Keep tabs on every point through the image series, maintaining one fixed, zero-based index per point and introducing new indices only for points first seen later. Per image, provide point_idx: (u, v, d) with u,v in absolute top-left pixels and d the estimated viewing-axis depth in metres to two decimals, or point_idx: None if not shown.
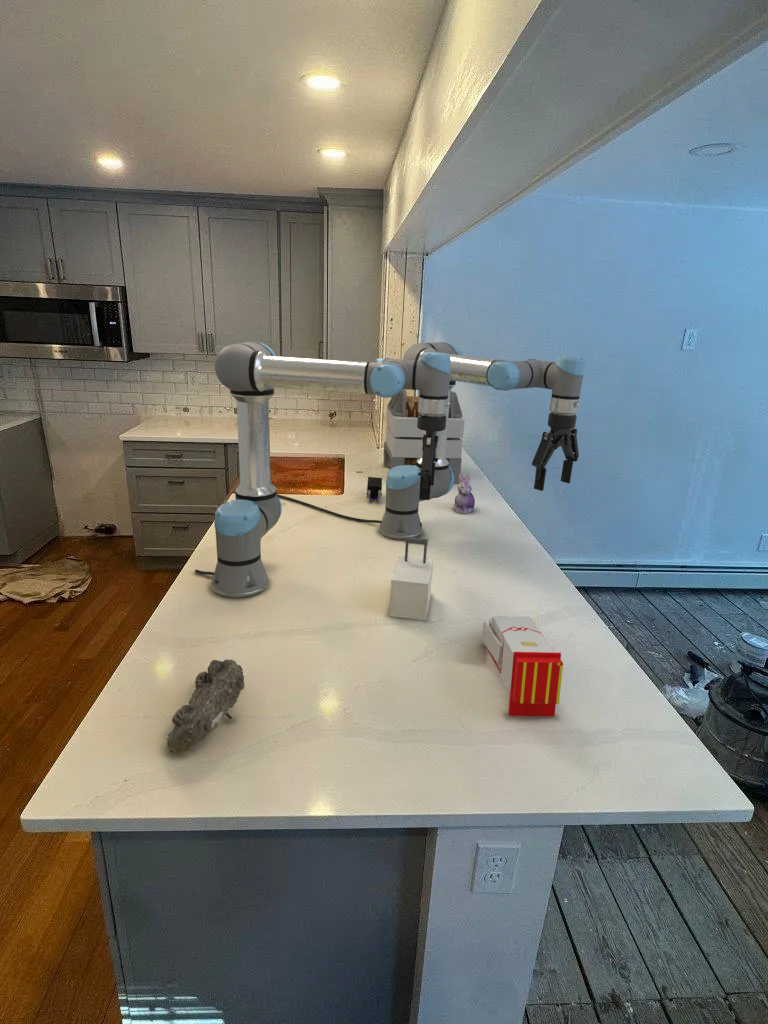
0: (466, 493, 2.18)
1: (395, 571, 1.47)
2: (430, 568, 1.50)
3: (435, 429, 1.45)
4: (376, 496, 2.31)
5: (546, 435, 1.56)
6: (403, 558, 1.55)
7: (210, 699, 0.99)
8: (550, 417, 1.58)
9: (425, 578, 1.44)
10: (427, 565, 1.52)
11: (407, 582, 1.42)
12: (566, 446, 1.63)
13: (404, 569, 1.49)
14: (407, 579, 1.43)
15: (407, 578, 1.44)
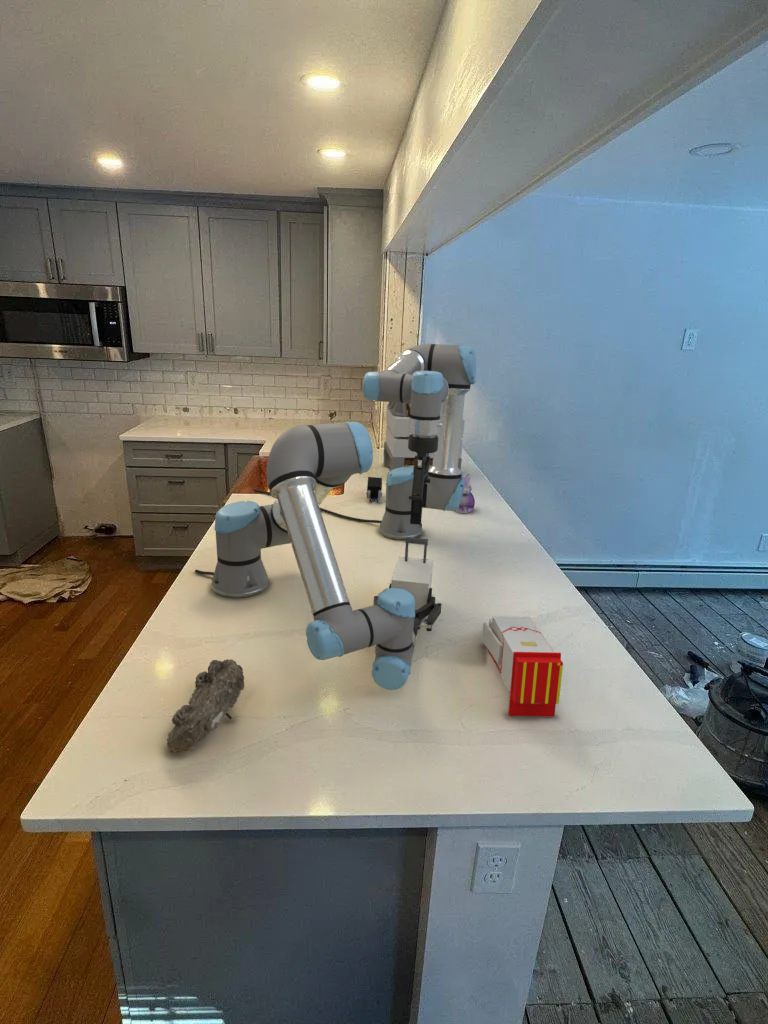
0: (466, 493, 2.18)
1: (395, 571, 1.47)
2: (430, 568, 1.50)
3: None
4: (376, 496, 2.31)
5: (420, 463, 1.37)
6: (403, 558, 1.55)
7: (210, 699, 0.99)
8: (415, 442, 1.39)
9: (426, 578, 1.44)
10: (427, 565, 1.52)
11: (407, 582, 1.42)
12: None
13: (404, 569, 1.49)
14: (407, 579, 1.43)
15: (407, 578, 1.44)
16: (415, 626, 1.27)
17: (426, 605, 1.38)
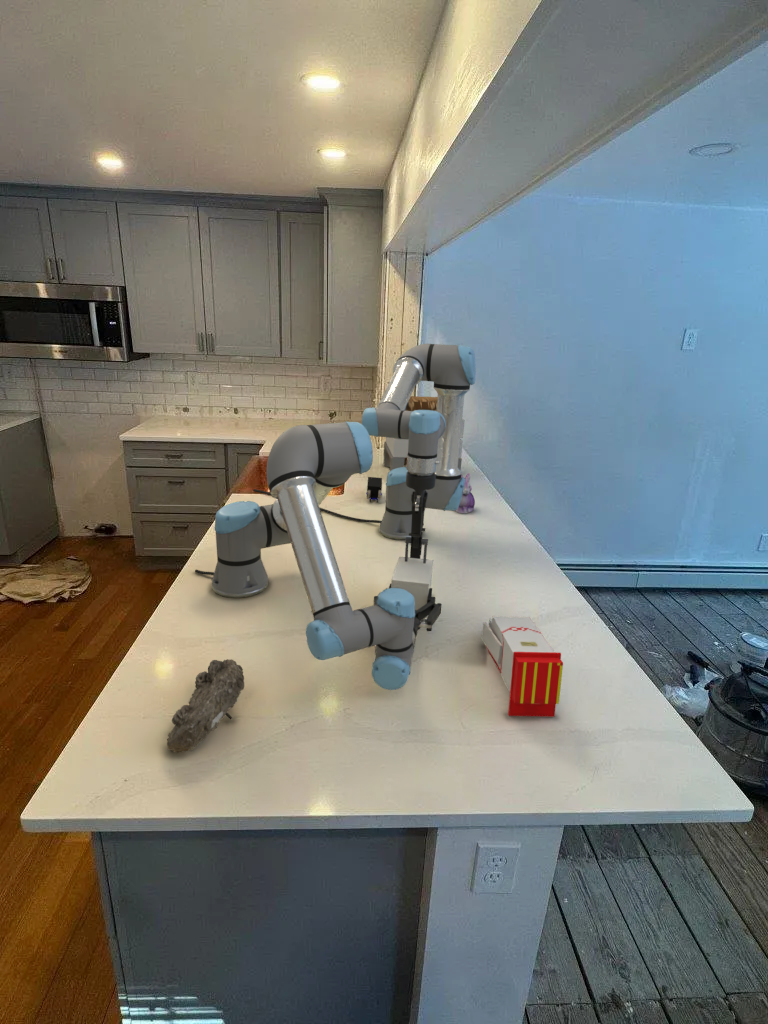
0: (466, 493, 2.18)
1: (395, 571, 1.47)
2: (430, 568, 1.50)
3: None
4: (376, 496, 2.31)
5: (417, 508, 1.42)
6: (403, 558, 1.55)
7: (210, 699, 0.99)
8: (412, 479, 1.42)
9: (426, 578, 1.44)
10: (427, 565, 1.52)
11: (407, 582, 1.42)
12: None
13: (404, 569, 1.48)
14: (407, 579, 1.43)
15: (407, 578, 1.44)
16: (415, 626, 1.27)
17: (426, 605, 1.38)
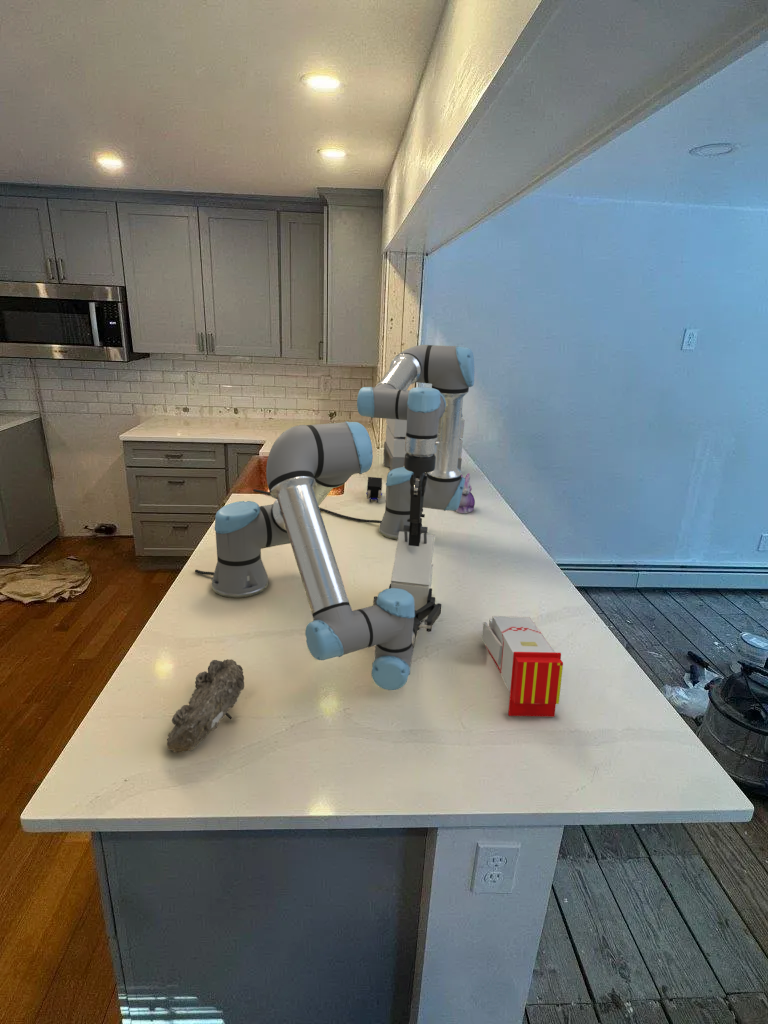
0: (466, 493, 2.18)
1: (395, 563, 1.45)
2: (431, 553, 1.46)
3: None
4: (376, 496, 2.31)
5: (416, 492, 1.33)
6: (403, 535, 1.50)
7: (210, 699, 0.99)
8: (411, 461, 1.34)
9: (426, 574, 1.43)
10: (428, 547, 1.47)
11: (407, 583, 1.42)
12: None
13: (404, 559, 1.46)
14: (407, 578, 1.43)
15: (407, 577, 1.43)
16: (415, 626, 1.27)
17: (426, 605, 1.37)
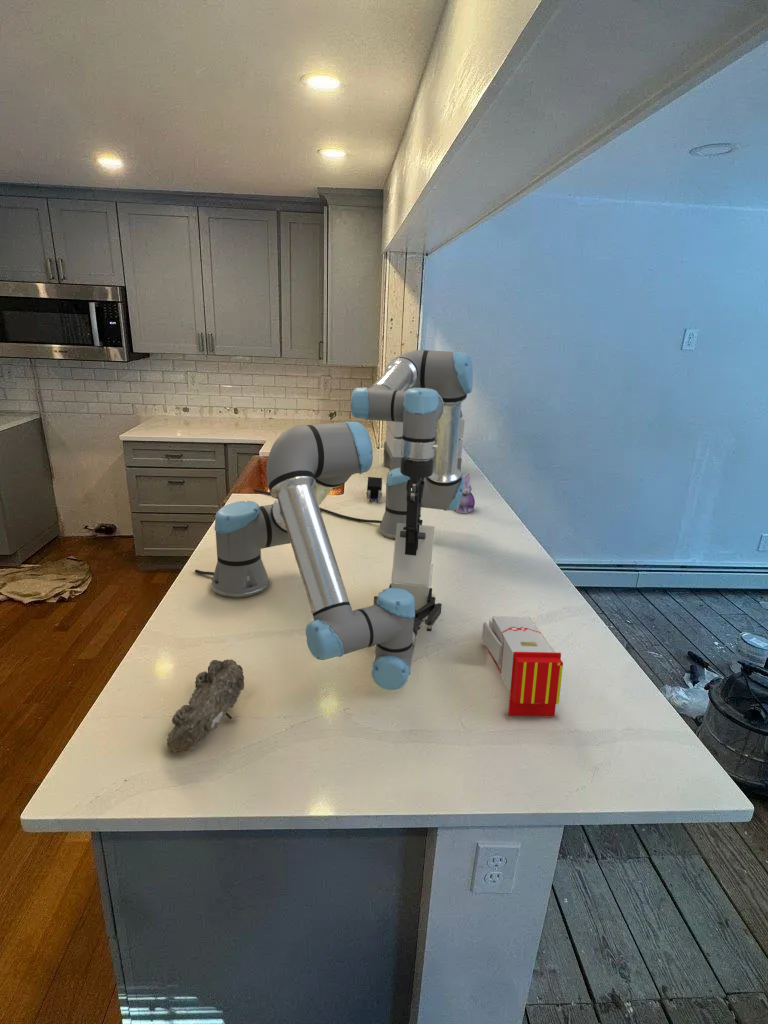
0: (466, 493, 2.18)
1: (394, 562, 1.43)
2: (431, 549, 1.42)
3: None
4: (376, 496, 2.31)
5: (412, 497, 1.26)
6: (401, 528, 1.43)
7: (210, 699, 0.99)
8: (408, 465, 1.27)
9: (426, 574, 1.41)
10: (427, 542, 1.42)
11: None
12: None
13: (403, 556, 1.42)
14: (407, 578, 1.42)
15: (407, 577, 1.42)
16: (415, 626, 1.27)
17: (426, 605, 1.37)
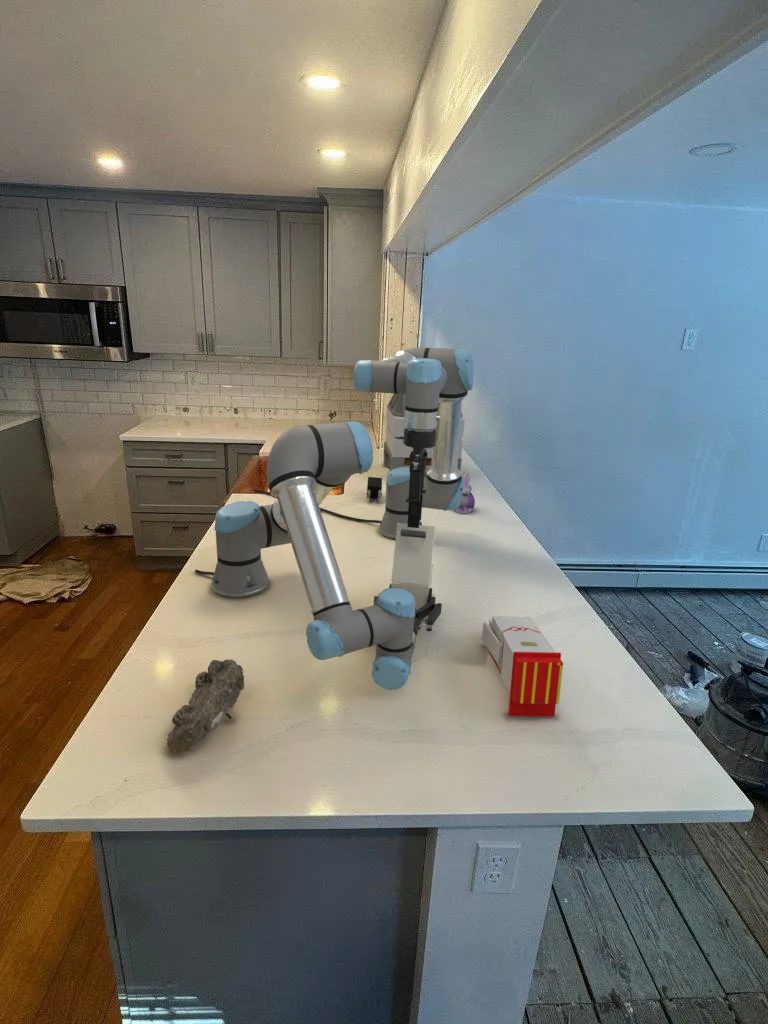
0: (466, 493, 2.18)
1: (394, 561, 1.43)
2: (431, 549, 1.42)
3: None
4: (376, 496, 2.31)
5: (415, 466, 1.26)
6: (402, 528, 1.44)
7: (210, 699, 0.99)
8: (411, 436, 1.28)
9: (426, 573, 1.42)
10: (428, 542, 1.42)
11: None
12: None
13: (403, 556, 1.43)
14: (407, 578, 1.42)
15: (407, 576, 1.42)
16: (415, 626, 1.27)
17: (426, 605, 1.38)
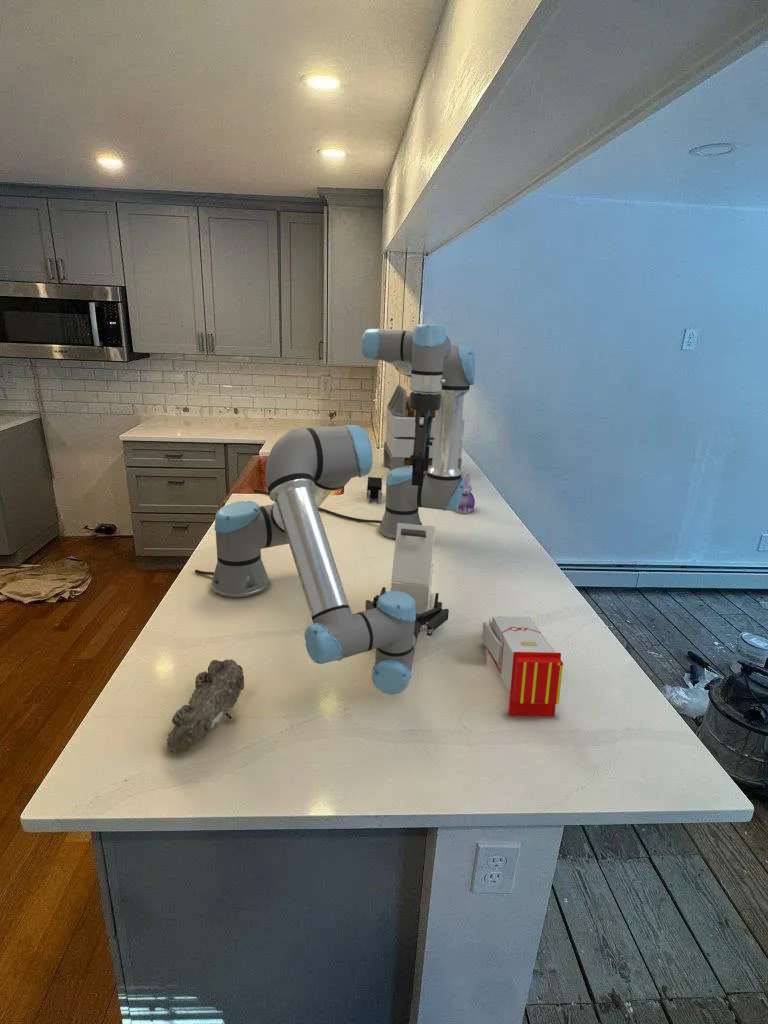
0: (466, 493, 2.18)
1: (394, 561, 1.43)
2: (431, 549, 1.42)
3: None
4: (376, 496, 2.31)
5: (421, 420, 1.31)
6: (402, 528, 1.44)
7: (210, 699, 0.99)
8: (416, 398, 1.33)
9: (426, 573, 1.42)
10: (428, 542, 1.43)
11: (407, 582, 1.42)
12: None
13: (403, 556, 1.43)
14: (407, 577, 1.42)
15: (407, 576, 1.42)
16: (415, 629, 1.26)
17: (431, 610, 1.35)
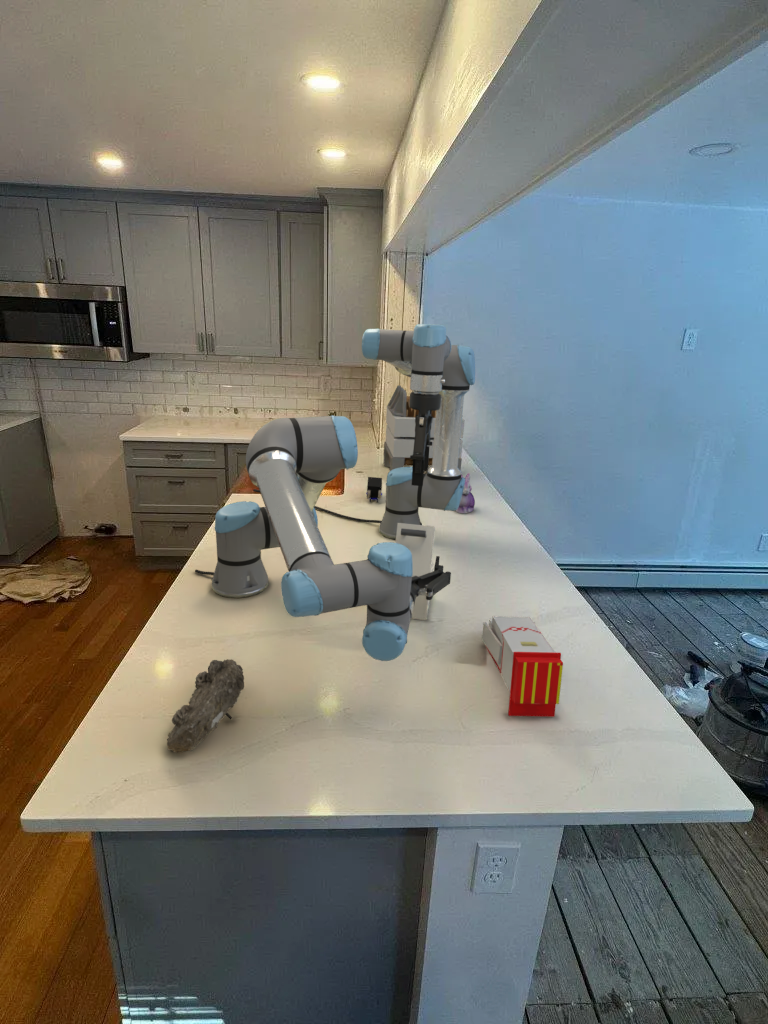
0: (466, 493, 2.18)
1: None
2: (431, 549, 1.42)
3: None
4: (376, 496, 2.31)
5: (421, 420, 1.31)
6: (402, 528, 1.44)
7: (210, 699, 0.99)
8: (416, 398, 1.33)
9: (426, 573, 1.42)
10: (428, 542, 1.43)
11: None
12: None
13: None
14: None
15: None
16: (413, 591, 1.11)
17: (431, 573, 1.20)
